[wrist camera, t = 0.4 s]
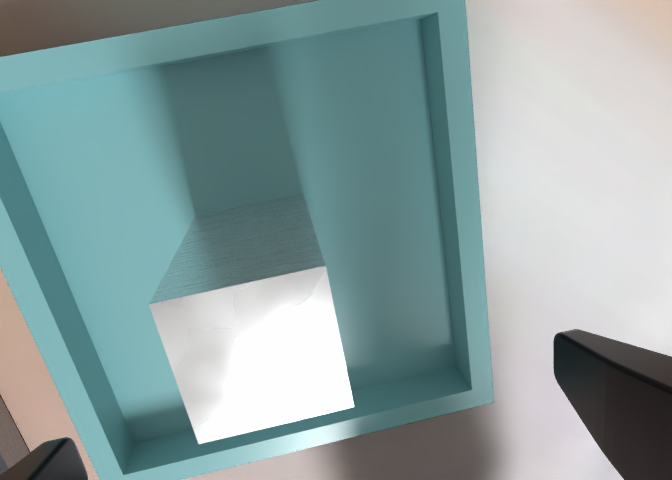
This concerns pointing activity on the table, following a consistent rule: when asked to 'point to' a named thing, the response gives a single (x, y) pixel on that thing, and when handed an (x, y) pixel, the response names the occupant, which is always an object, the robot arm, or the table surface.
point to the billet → (251, 321)
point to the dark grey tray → (9, 441)
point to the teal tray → (244, 189)
